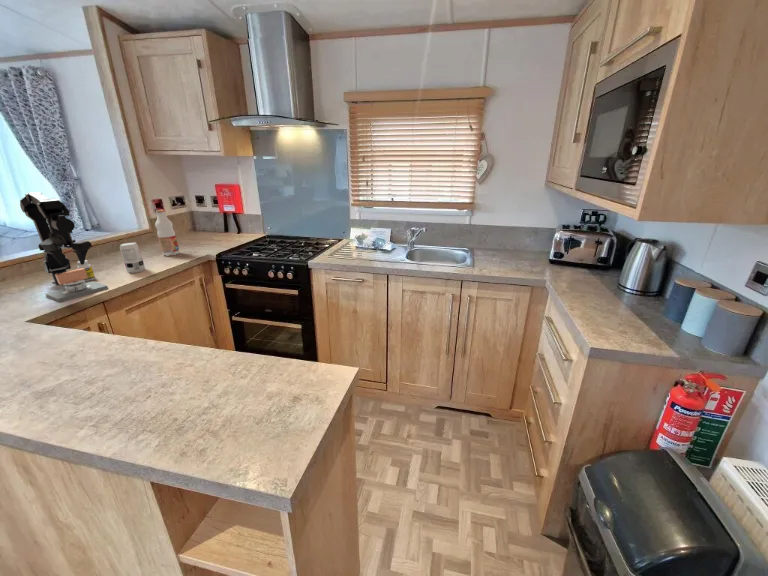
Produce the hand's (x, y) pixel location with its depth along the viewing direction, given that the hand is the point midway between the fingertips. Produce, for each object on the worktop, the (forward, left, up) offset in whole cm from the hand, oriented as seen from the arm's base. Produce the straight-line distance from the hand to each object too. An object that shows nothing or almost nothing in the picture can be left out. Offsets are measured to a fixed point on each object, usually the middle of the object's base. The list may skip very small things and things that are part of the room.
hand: (72, 264), depth 149 cm
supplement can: (-12, +29, -14) cm, 34 cm away
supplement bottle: (-19, +10, -14) cm, 25 cm away
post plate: (-1, -1, -13) cm, 13 cm away
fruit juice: (-29, +58, -14) cm, 66 cm away
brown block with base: (-1, -1, -12) cm, 12 cm away
